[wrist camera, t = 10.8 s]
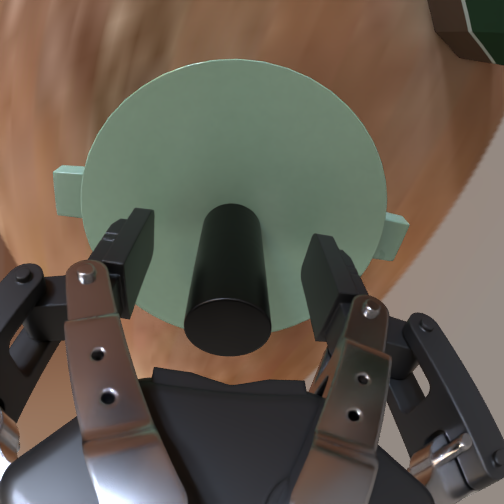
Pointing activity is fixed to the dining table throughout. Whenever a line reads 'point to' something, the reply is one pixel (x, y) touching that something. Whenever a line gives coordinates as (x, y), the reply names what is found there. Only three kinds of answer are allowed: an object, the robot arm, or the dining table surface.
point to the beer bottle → (471, 28)
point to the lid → (235, 194)
